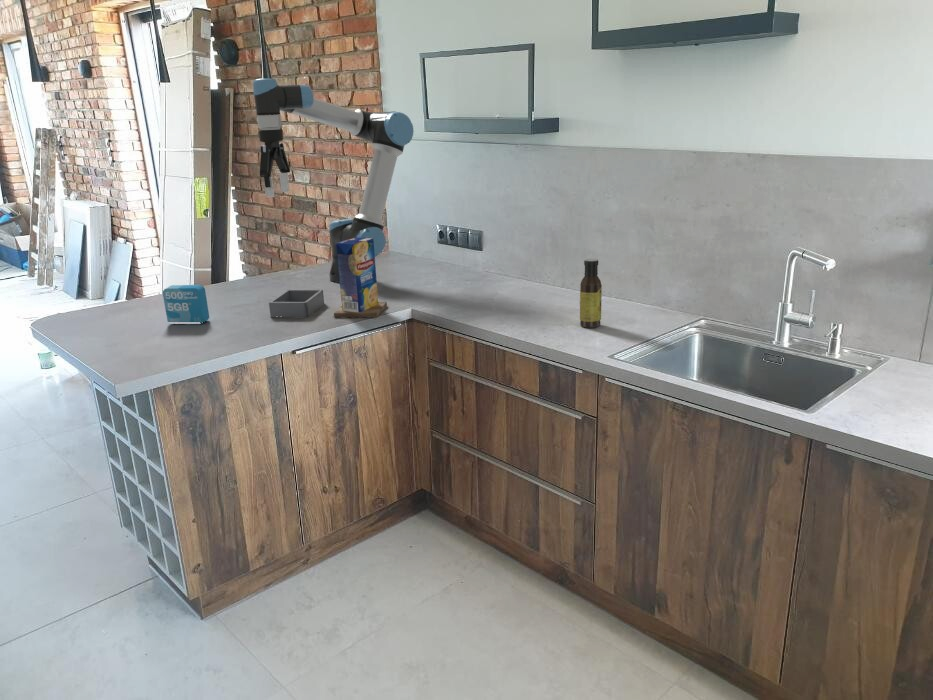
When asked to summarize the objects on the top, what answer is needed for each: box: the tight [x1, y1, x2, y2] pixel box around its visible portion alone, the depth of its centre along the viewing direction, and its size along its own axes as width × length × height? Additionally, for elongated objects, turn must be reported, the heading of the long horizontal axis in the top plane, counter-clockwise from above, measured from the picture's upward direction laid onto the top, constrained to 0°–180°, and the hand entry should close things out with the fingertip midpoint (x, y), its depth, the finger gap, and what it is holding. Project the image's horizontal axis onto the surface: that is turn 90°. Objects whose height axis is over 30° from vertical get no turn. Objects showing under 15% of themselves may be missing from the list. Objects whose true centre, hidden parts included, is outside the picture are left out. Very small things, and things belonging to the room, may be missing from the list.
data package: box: [162, 284, 210, 323], centre depth 226 cm, size 12×4×12 cm, turn 87°
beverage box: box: [336, 237, 379, 313], centre depth 230 cm, size 7×11×22 cm, turn 153°
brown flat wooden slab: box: [333, 301, 388, 319], centre depth 234 cm, size 14×14×2 cm
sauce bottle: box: [579, 258, 603, 329], centre depth 209 cm, size 6×6×20 cm
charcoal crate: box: [268, 289, 325, 318], centre depth 237 cm, size 17×13×5 cm
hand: (278, 194), depth 240 cm, fingers open, 13 cm apart
